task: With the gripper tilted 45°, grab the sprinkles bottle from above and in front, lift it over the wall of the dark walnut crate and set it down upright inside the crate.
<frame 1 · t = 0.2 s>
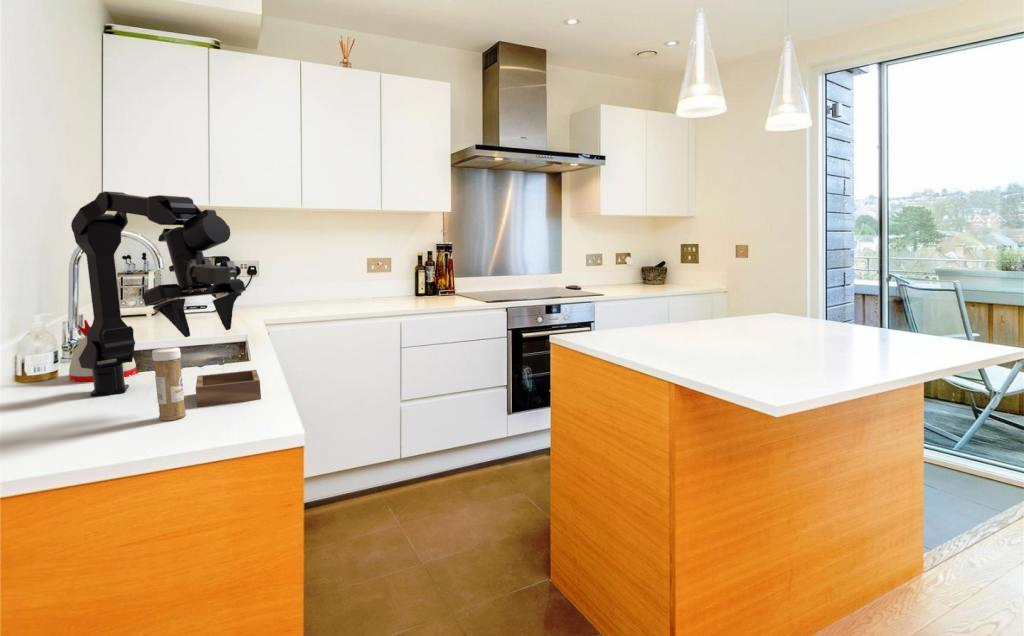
hand: (208, 333, 115), 15 cm above the countertop, tool tilted 15°, fingers open, 9 cm apart
walnut crate: (229, 396, 125), on the countertop
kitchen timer: (104, 377, 146), on the countertop
sprinkles bottle: (172, 418, 110), on the countertop
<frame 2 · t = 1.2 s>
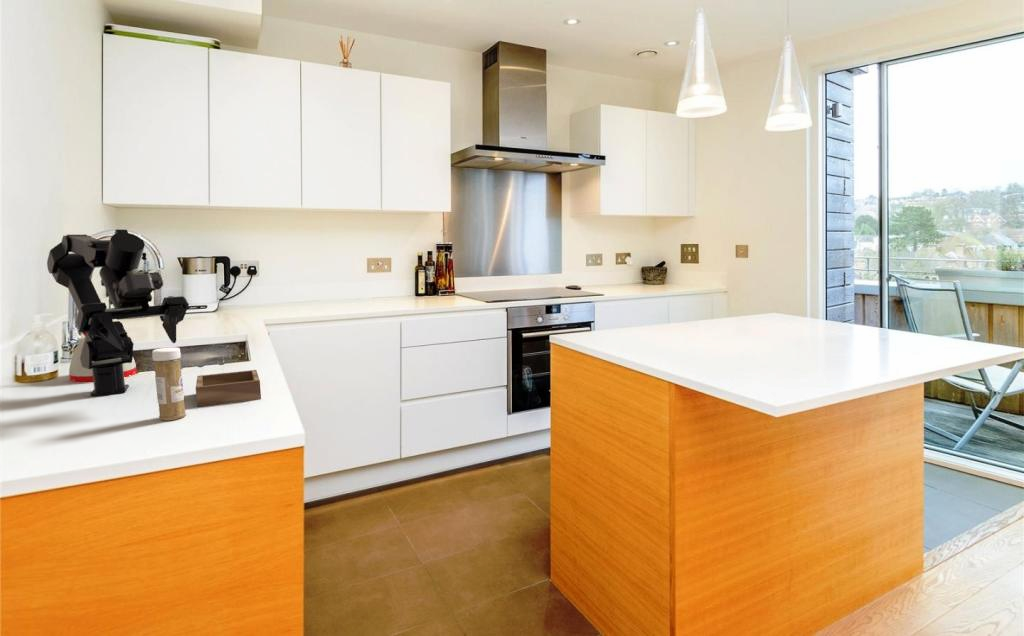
hand: (149, 345, 113), 13 cm above the countertop, tool tilted 45°, fingers open, 9 cm apart
nothing on the countertop moved.
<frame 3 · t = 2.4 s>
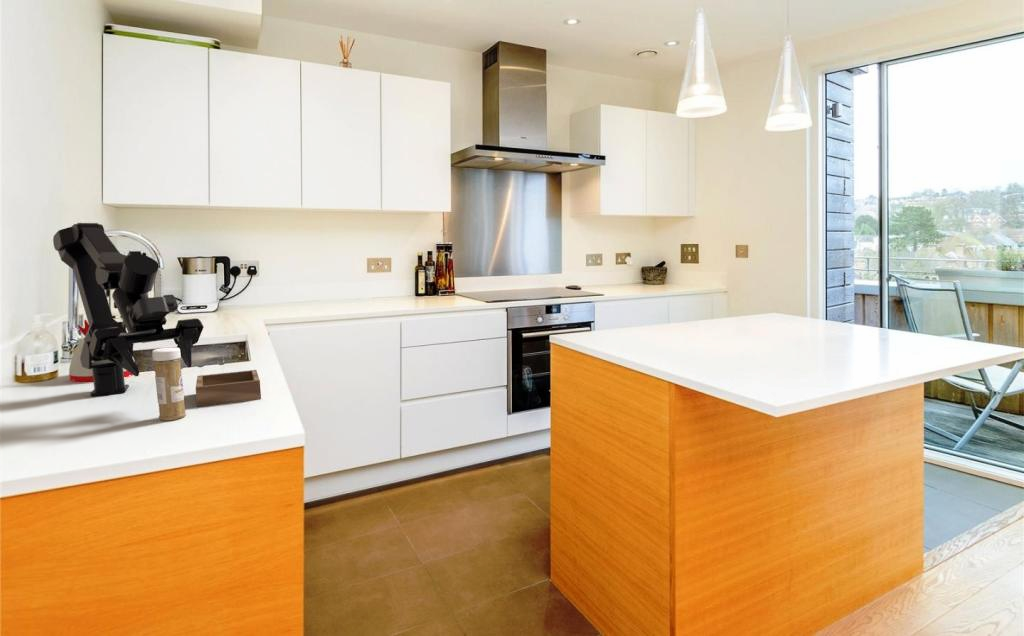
hand: (164, 370, 110), 9 cm above the countertop, tool tilted 45°, fingers open, 9 cm apart
nothing on the countertop moved.
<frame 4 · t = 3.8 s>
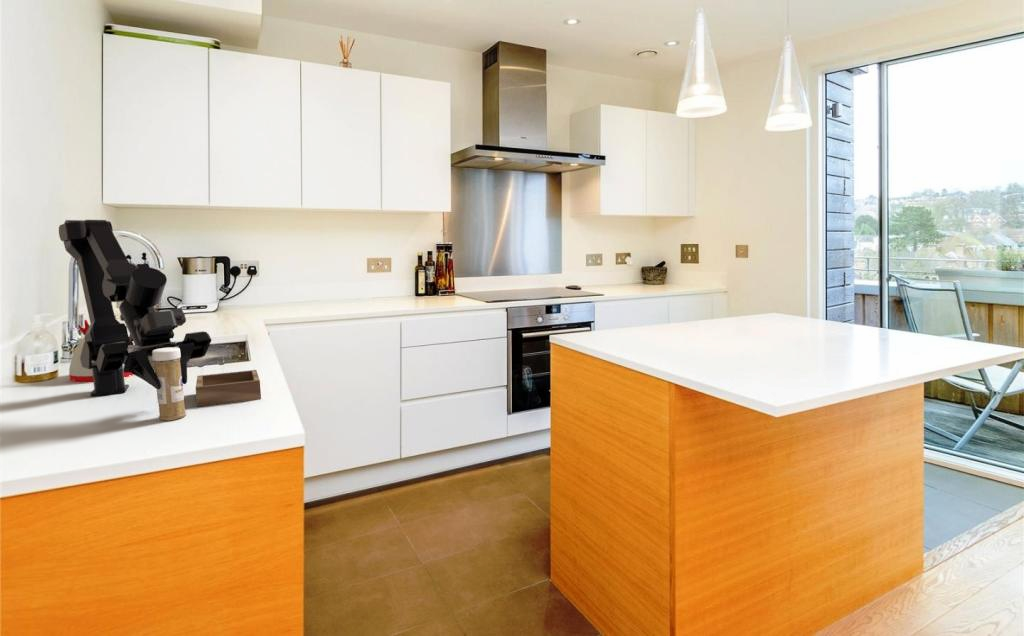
hand: (172, 385, 108), 7 cm above the countertop, tool tilted 45°, fingers closed on sprinkles bottle, 4 cm apart
sprinkles bottle: (172, 418, 110), on the countertop, touching gripper
everything else where it was.
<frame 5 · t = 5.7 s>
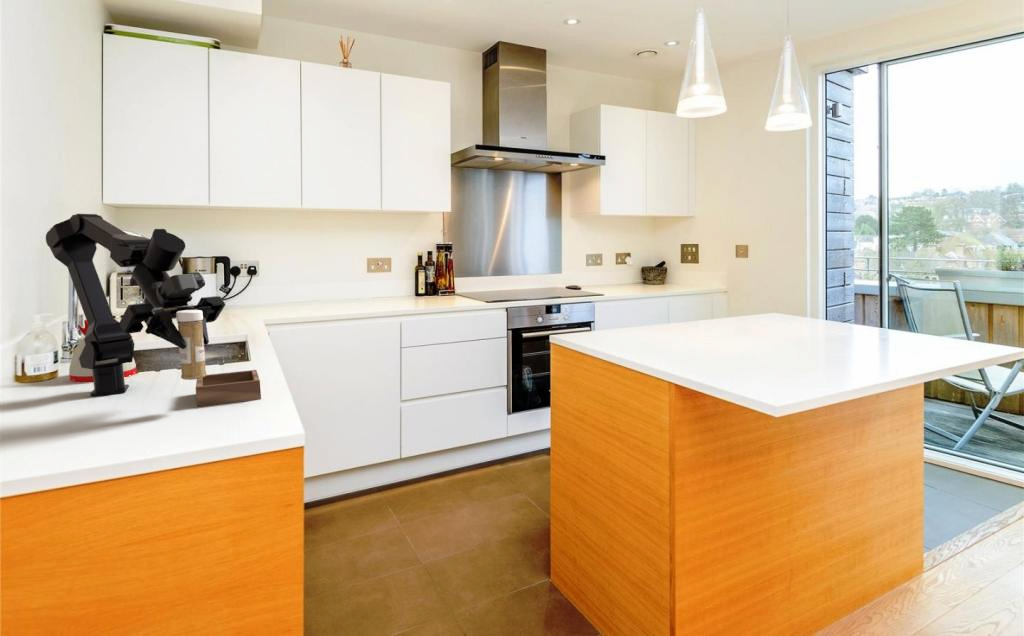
hand: (196, 345, 113), 13 cm above the countertop, tool tilted 45°, fingers closed on sprinkles bottle, 4 cm apart
sprinkles bottle: (193, 378, 114), point 6 cm above the countertop, touching gripper
everything else where it was.
when the fingers open (9 cm above the countertop, at t = 7.8 s): sprinkles bottle drops 1 cm, resting on walnut crate.
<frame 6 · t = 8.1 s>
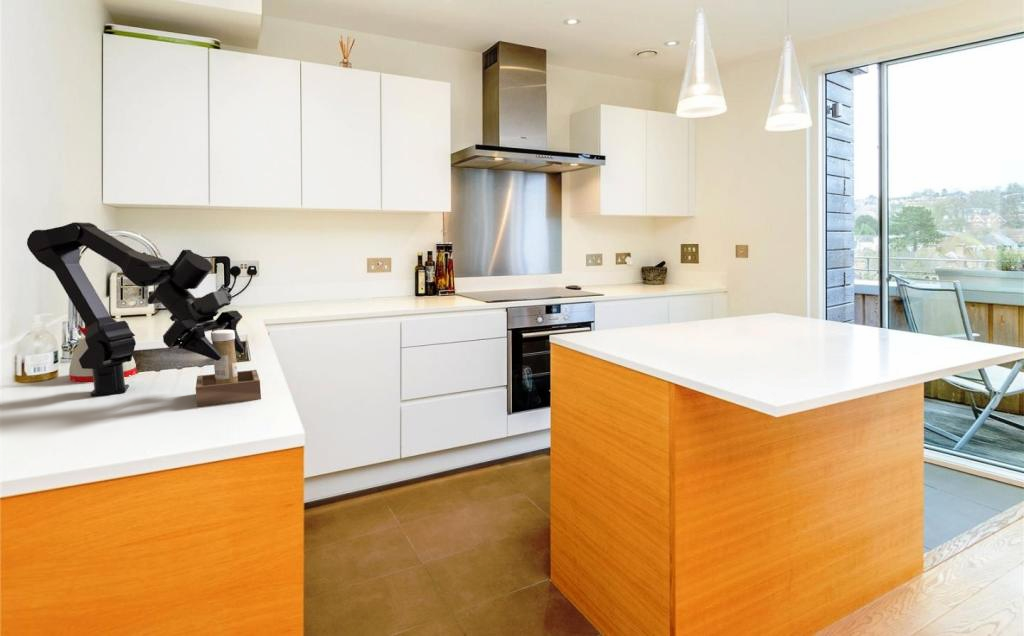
hand: (231, 355, 124), 9 cm above the countertop, tool tilted 45°, fingers open, 7 cm apart
sprinkles bottle: (227, 392, 125), point 1 cm above the countertop, touching walnut crate
everything else where it was.
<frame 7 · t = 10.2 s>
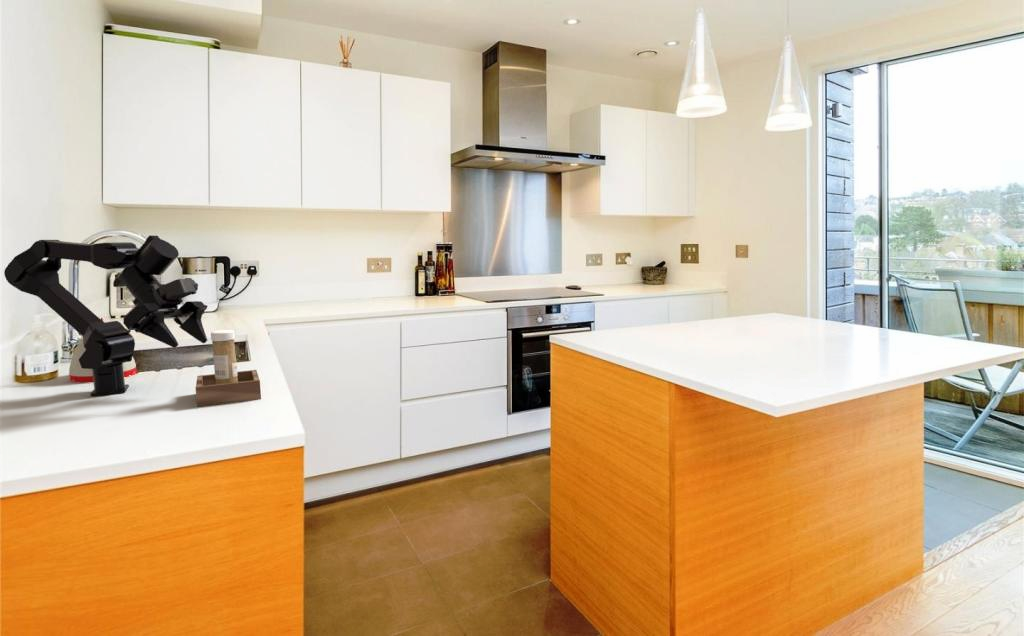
hand: (191, 344, 124), 12 cm above the countertop, tool tilted 40°, fingers open, 9 cm apart
nothing on the countertop moved.
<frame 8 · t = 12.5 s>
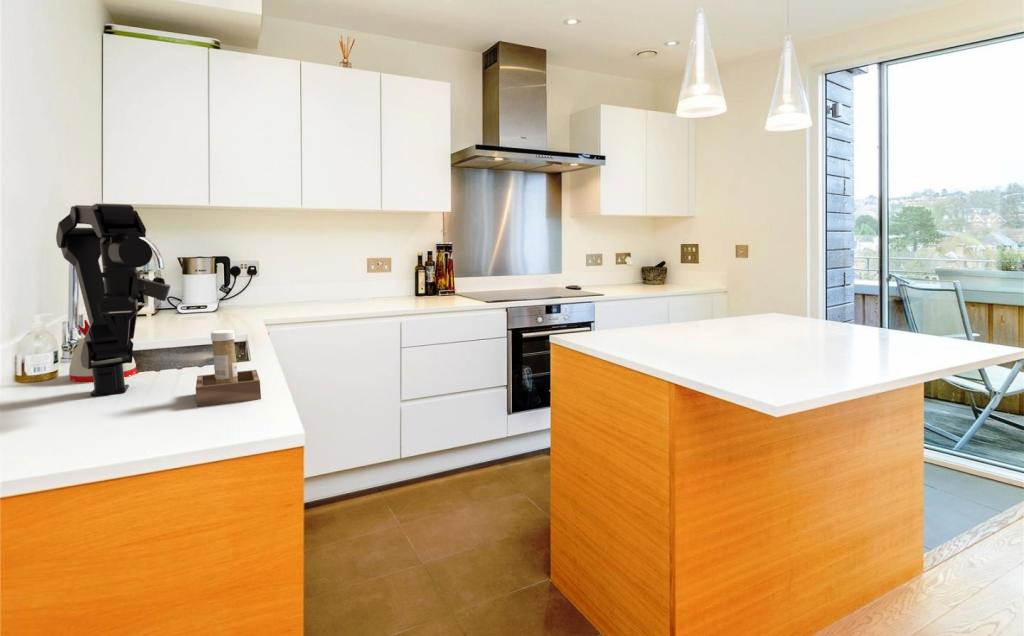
hand: (127, 342, 119), 13 cm above the countertop, tool pointing down, fingers open, 9 cm apart
nothing on the countertop moved.
at the end: sprinkles bottle 0.3 cm off-centre on the walnut crate, point 0.8 cm above the walnut crate's base; sprinkles bottle tilted 0°; the gripper is holding nothing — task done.
